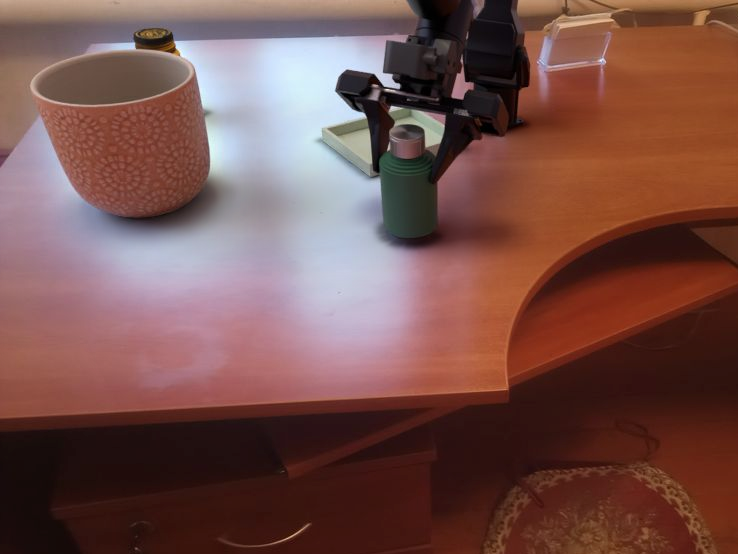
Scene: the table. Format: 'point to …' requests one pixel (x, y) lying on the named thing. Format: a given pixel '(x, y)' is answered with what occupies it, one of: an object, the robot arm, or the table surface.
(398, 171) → the bottle
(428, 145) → the tray
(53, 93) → the planter
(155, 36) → the condiment
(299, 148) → the table surface
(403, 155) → the cap
